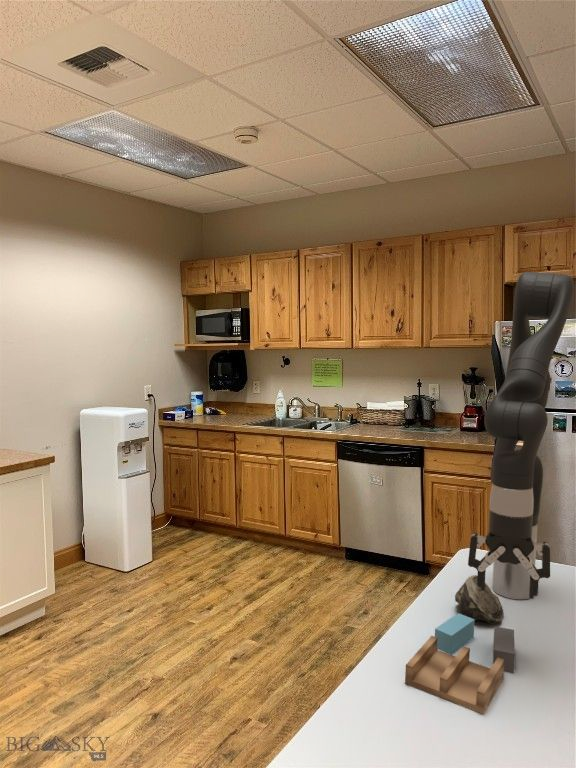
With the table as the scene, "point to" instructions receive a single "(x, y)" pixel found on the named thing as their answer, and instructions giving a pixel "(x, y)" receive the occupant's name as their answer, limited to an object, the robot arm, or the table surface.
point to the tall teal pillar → (454, 633)
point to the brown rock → (478, 602)
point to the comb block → (454, 676)
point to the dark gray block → (504, 647)
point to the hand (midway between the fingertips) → (506, 592)
